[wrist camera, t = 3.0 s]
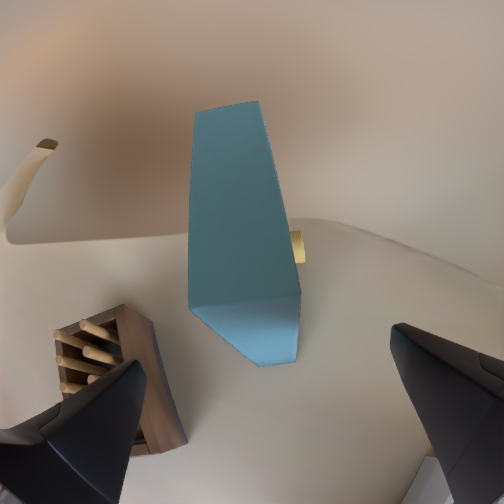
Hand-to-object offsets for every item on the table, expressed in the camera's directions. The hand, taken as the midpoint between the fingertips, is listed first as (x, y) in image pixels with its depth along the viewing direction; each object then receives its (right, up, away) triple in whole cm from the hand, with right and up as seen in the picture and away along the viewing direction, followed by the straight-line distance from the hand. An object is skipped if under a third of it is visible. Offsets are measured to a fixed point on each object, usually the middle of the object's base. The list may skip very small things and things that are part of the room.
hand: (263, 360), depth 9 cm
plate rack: (-10, -7, +10) cm, 16 cm away
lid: (+1, -1, +11) cm, 12 cm away
